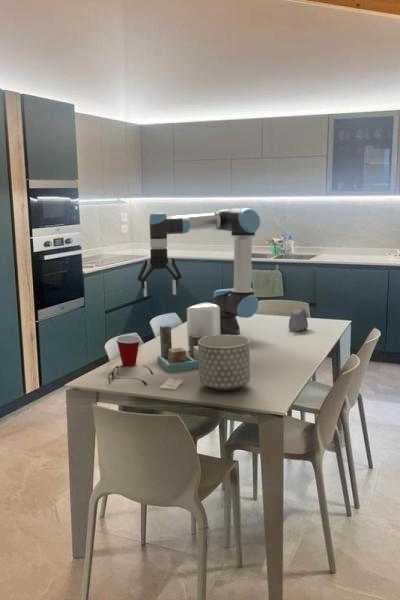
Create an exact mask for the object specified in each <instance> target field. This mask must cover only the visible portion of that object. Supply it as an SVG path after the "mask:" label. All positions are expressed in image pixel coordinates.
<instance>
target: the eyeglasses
mask: <svg viewBox="0 0 400 600" xmlns="http://www.w3.org/2000/svg"><path fill="white" fill-rule="evenodd" d="M127 367H131V366H123V365H120V366H119V365H117V366H115V367H113V369H112V371H111V372H109V374H108V376H107V379H108V382H109V384H110V385H111V384H112V383H111V381H112V382H113V381H114V380H115V379H116V380H119V379H120V380H121V379H127V380H128V379H133V380H139V381H141V382H142V383H143V385H144V386H147V385H148V383H147V382H146V381H144V380H143V379H140V378H136V377H135V378H134V377H116V376H115V375H116V374H114V373H115V369H116V370H117V376H118V375H119V368H127ZM143 368H146V369H147V370H149V372H150V374H151V375H154V373H153V371H152V369H150V368H149V367H147V366H146V365H143ZM110 376H111V377H110Z"/></svg>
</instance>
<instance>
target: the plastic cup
mask: <svg viewBox="0 0 400 600" xmlns="http://www.w3.org/2000/svg"><path fill="white" fill-rule="evenodd" d="M141 340H142V338H141V337H140V336H135V335H120V336H119V335H118V336H117V337H115V341H116V342H117V343H116V344H117V347H118V350H119V351H118V352H119V356H120V361H121V364H122V366H130V367H135V366H137V358H138V353H139V352H138V351H139V346H140V343H141Z"/></svg>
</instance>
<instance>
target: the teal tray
mask: <svg viewBox="0 0 400 600" xmlns="http://www.w3.org/2000/svg"><path fill="white" fill-rule="evenodd" d="M157 363H158V364H159V366H161V367H162V368H163V369H164V370H165V371H166V372H168V373H171V372H178V371H185V370H186V371H187V370H193V369H199V360H194V359H193V358H191V357H190V354H189V355H188V354H187V353H186V362H180V363H173V364H169V361H167V360H166V358H163V357H162V356H161V355H157Z"/></svg>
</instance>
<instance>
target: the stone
mask: <svg viewBox="0 0 400 600" xmlns="http://www.w3.org/2000/svg"><path fill="white" fill-rule="evenodd" d="M307 318H308V317H307V311H306V310H305V309H304V308H296V309H293V311H292V312H291V314H290V318H289V321H288V329H289V330H290V331H292V330H294V331H293V332H302V331H305V330H307V329H308V327H309V324H308V319H307ZM304 329H305V330H304ZM301 330H302V331H301Z"/></svg>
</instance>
